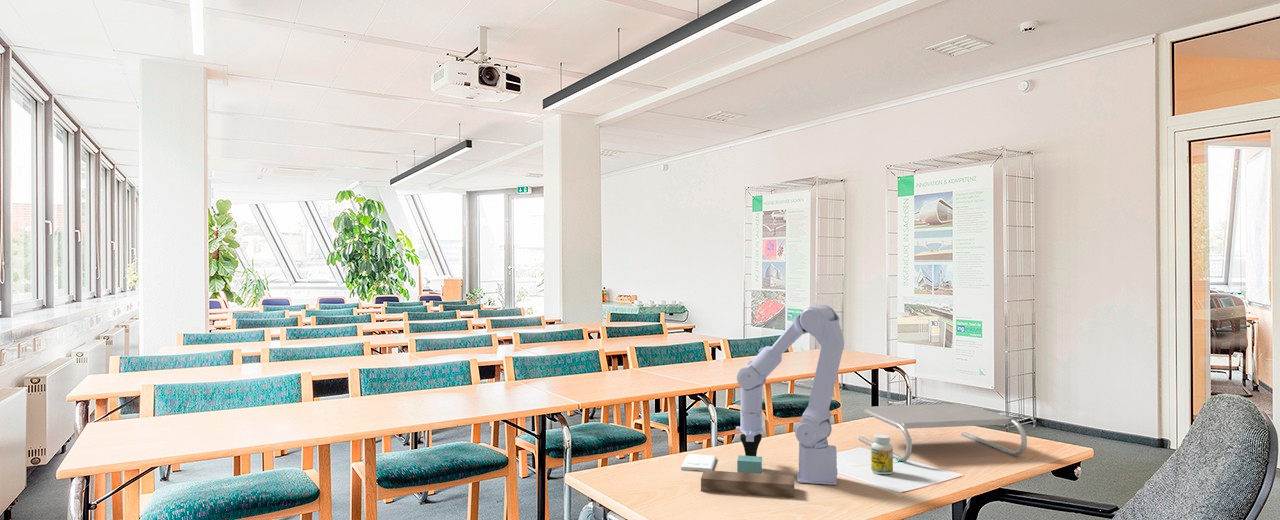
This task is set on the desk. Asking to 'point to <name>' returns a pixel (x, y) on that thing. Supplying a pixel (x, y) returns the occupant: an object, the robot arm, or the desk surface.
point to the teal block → (749, 464)
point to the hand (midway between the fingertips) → (750, 462)
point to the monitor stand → (942, 421)
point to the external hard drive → (698, 462)
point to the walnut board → (747, 483)
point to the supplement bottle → (882, 455)
